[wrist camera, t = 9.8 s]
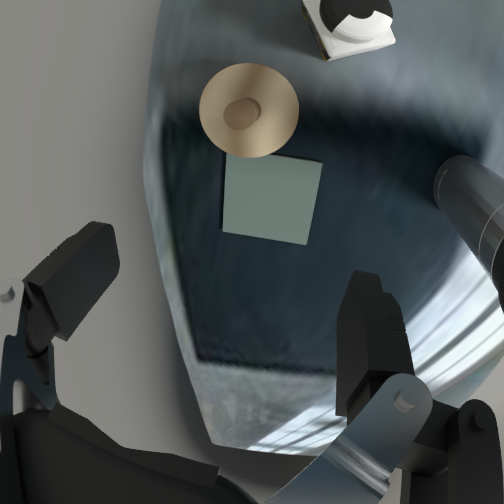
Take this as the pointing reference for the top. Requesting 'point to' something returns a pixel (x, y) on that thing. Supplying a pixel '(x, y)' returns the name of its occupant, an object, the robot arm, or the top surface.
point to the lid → (249, 110)
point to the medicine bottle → (349, 25)
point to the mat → (270, 196)
